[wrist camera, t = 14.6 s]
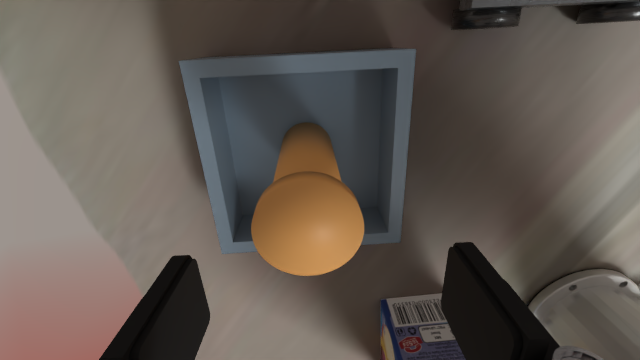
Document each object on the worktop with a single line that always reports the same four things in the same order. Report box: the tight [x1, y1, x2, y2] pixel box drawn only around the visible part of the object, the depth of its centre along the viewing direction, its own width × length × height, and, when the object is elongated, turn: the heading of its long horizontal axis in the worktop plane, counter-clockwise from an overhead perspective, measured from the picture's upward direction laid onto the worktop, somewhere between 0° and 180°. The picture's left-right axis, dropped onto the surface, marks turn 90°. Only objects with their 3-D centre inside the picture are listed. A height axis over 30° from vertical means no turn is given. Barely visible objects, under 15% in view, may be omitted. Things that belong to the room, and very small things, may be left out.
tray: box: [179, 48, 416, 254], centre depth 23 cm, size 14×14×5 cm
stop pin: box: [251, 122, 364, 276], centre depth 19 cm, size 5×5×12 cm
